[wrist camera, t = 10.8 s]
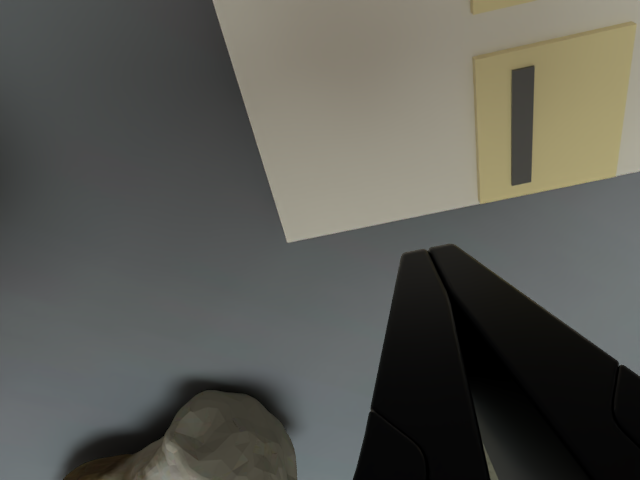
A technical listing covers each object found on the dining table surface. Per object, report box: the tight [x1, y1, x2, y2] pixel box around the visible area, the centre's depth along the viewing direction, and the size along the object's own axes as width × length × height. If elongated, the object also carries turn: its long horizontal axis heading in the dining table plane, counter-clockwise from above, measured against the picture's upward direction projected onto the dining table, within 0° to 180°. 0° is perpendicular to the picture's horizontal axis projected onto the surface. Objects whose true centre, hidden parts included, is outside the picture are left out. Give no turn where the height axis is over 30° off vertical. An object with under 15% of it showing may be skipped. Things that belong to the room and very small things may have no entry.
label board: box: [212, 0, 640, 243], centre depth 18 cm, size 15×13×2 cm
